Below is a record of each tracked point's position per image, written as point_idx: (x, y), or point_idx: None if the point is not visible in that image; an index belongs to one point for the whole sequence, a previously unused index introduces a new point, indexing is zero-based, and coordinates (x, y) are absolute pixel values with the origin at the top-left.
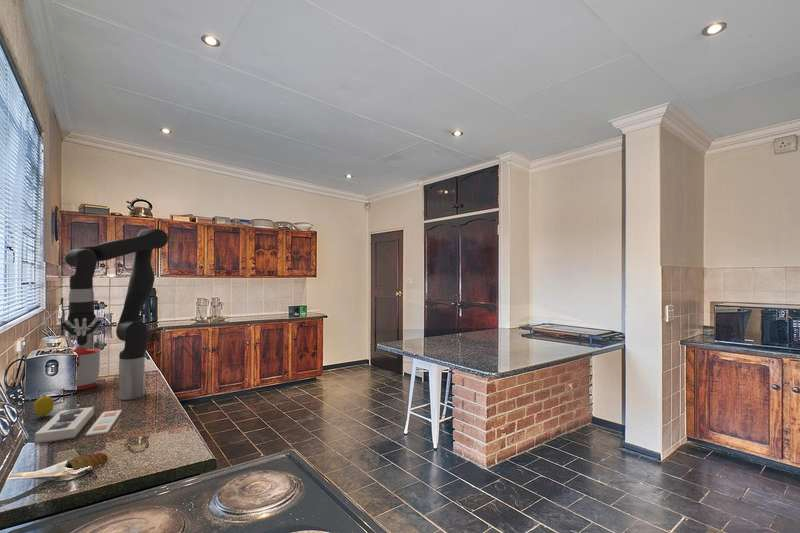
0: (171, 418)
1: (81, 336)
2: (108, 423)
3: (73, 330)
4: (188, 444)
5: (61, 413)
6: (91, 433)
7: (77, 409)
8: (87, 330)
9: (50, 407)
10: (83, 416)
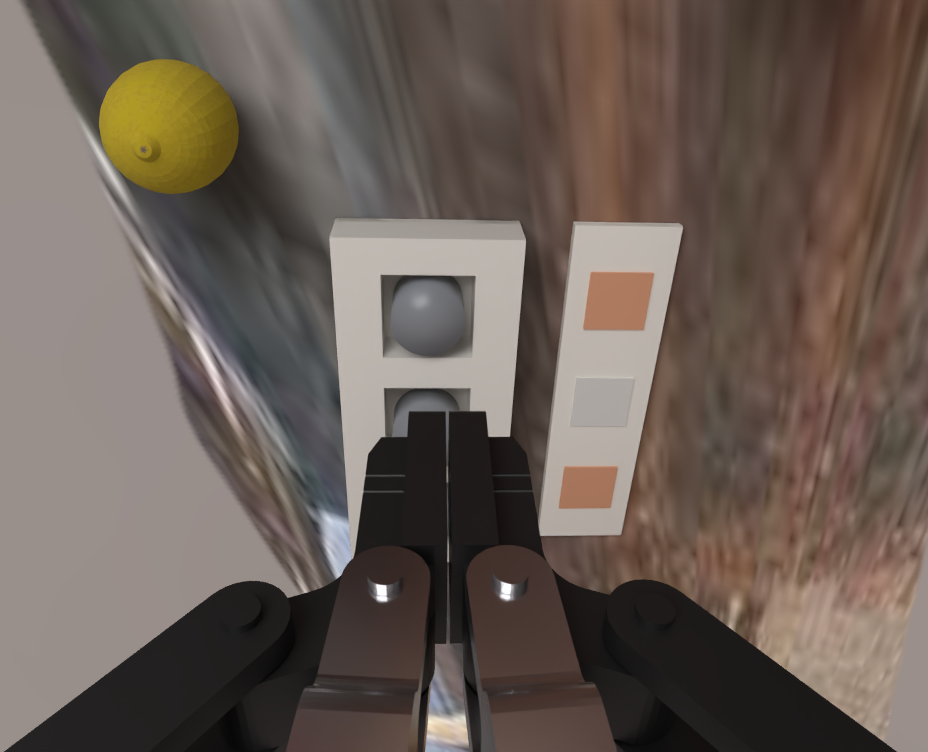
0: (891, 457)
1: (445, 624)
2: (618, 442)
3: (213, 698)
4: (861, 699)
5: (395, 432)
6: (560, 534)
7: (443, 300)
8: (567, 667)
9: (232, 157)
10: (502, 412)
